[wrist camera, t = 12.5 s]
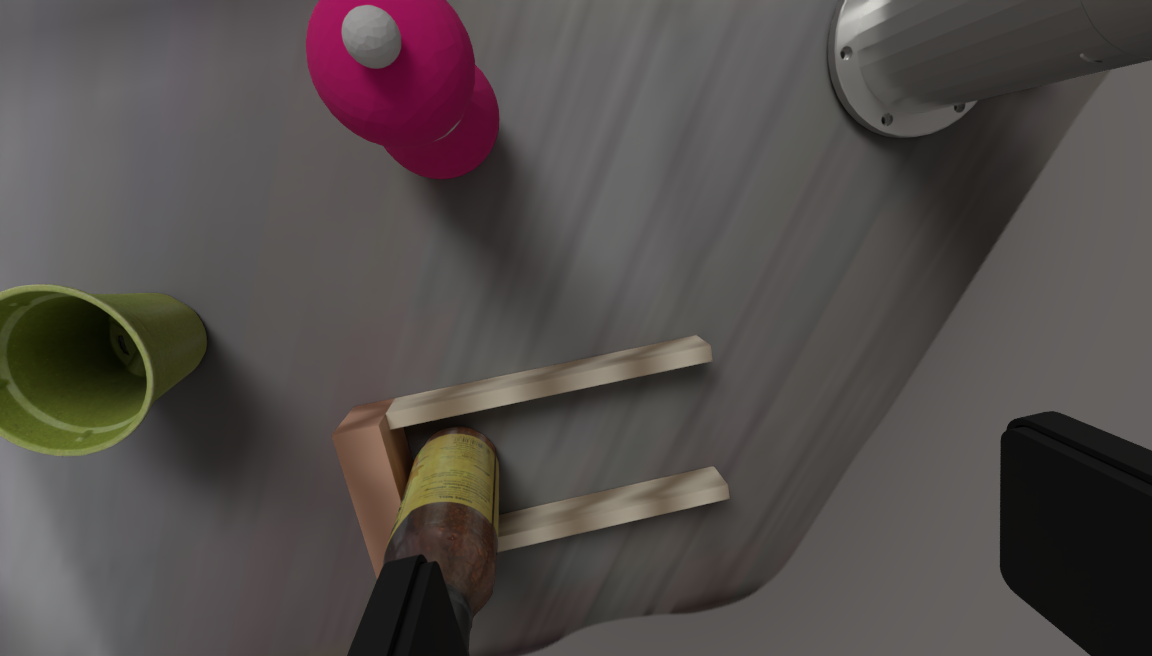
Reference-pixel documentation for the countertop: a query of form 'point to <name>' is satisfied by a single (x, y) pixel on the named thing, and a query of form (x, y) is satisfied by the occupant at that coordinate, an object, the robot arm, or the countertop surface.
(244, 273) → the countertop surface
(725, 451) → the countertop surface
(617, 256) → the countertop surface
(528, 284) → the countertop surface
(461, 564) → the sauce bottle
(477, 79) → the pepper mill
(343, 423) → the guide track
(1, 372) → the plant pot
